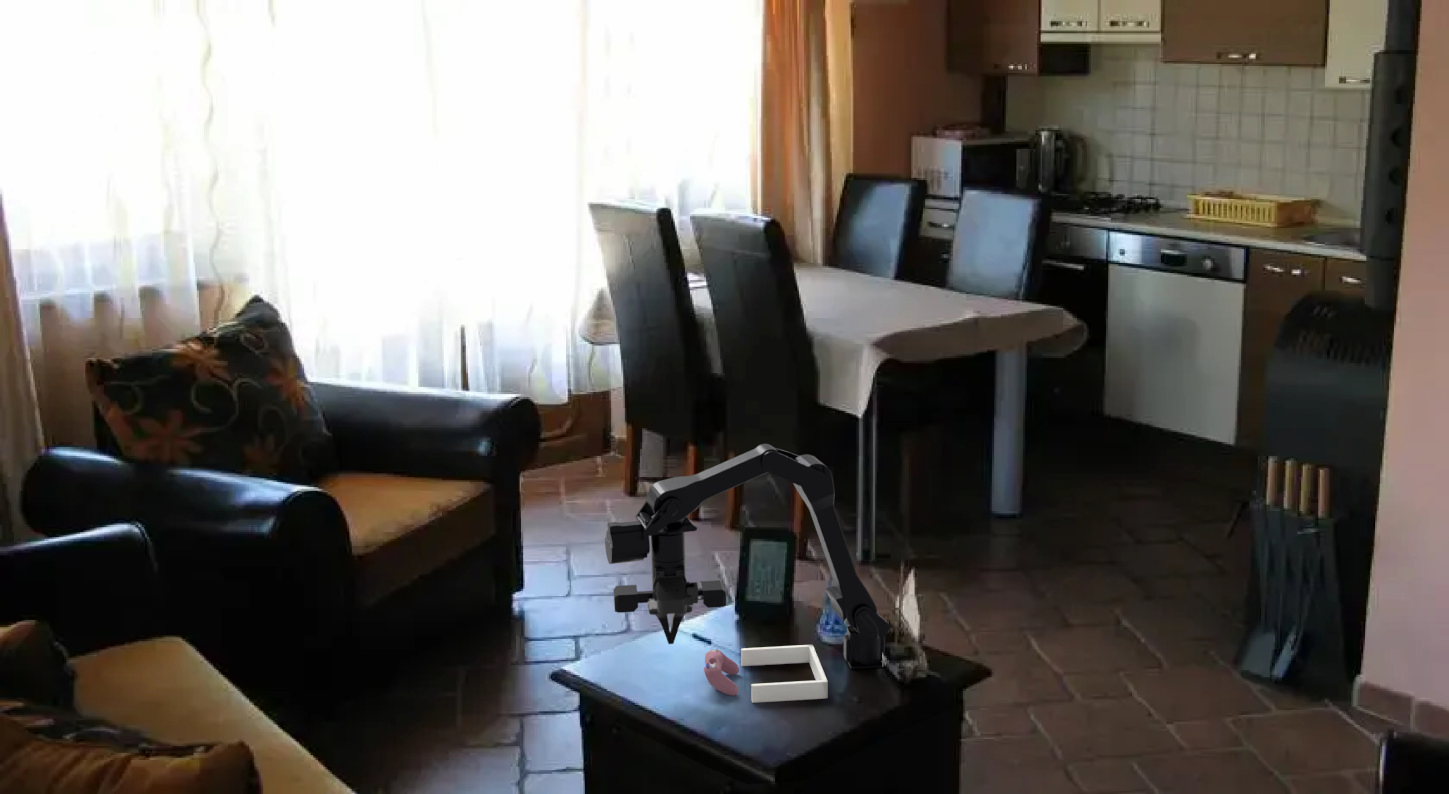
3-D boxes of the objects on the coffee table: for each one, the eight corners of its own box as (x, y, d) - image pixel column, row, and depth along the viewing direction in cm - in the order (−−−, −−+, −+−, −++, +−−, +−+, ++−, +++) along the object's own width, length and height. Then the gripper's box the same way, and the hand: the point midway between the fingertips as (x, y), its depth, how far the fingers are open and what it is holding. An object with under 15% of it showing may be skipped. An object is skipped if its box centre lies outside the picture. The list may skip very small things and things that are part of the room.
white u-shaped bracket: (812, 660, 267) (812, 644, 267) (827, 698, 252) (827, 681, 252) (741, 664, 266) (741, 648, 265) (752, 702, 251) (751, 686, 250)
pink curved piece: (718, 681, 263) (699, 648, 262) (741, 670, 263) (723, 636, 261) (716, 706, 254) (697, 671, 252) (740, 694, 253) (721, 660, 252)
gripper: (614, 576, 243) (617, 666, 247) (728, 570, 245) (730, 659, 249) (612, 553, 254) (615, 639, 257) (721, 547, 255) (723, 633, 259)
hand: (670, 643), depth 255 cm, fingers closed
